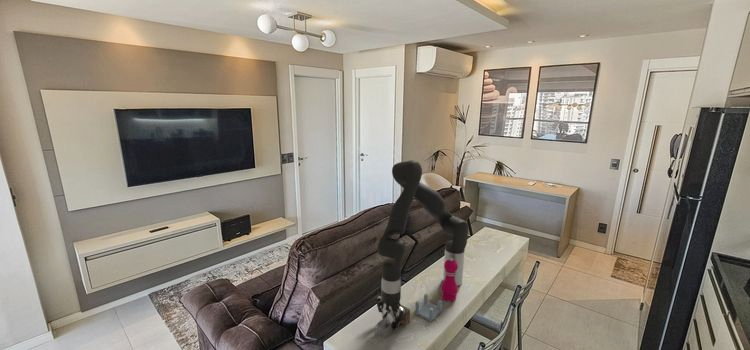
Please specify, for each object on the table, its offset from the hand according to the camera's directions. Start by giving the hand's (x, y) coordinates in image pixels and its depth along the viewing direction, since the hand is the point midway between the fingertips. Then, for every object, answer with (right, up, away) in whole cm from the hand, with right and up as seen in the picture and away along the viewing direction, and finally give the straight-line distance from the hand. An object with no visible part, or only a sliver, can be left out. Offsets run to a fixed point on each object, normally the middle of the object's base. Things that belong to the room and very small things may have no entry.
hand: (390, 325), depth 125 cm
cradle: (+17, +2, +9) cm, 19 cm away
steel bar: (+1, 0, +1) cm, 1 cm away
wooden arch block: (+3, +1, +4) cm, 6 cm away
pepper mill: (+28, +4, +19) cm, 34 cm away
